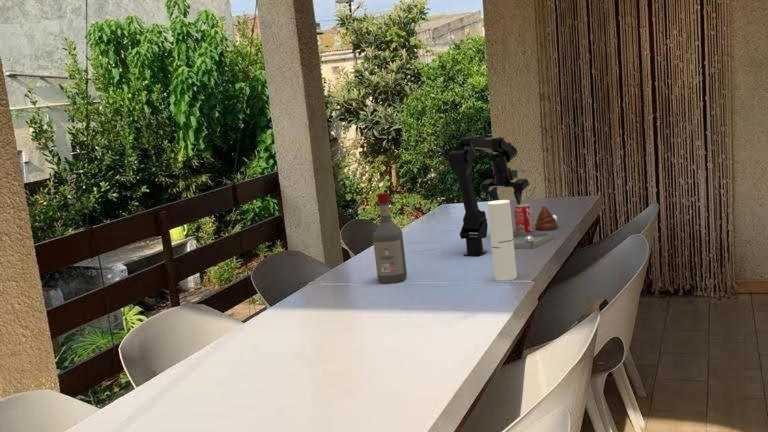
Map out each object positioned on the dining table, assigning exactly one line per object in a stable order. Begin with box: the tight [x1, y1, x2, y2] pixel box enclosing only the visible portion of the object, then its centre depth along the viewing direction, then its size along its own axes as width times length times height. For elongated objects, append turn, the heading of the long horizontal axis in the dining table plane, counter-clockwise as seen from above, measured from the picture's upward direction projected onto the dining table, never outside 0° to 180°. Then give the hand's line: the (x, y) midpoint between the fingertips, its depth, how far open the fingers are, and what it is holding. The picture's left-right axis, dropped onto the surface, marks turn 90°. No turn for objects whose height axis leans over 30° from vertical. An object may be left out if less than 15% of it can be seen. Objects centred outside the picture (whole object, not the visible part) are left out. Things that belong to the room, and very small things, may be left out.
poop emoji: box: [534, 205, 558, 232], centre depth 347 cm, size 10×8×9 cm
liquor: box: [372, 192, 408, 285], centre depth 289 cm, size 9×9×30 cm
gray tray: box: [513, 231, 555, 250], centre depth 325 cm, size 18×16×2 cm
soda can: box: [513, 203, 534, 233], centre depth 340 cm, size 7×7×12 cm
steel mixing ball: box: [524, 235, 534, 243], centre depth 318 cm, size 4×4×4 cm
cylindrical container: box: [487, 199, 518, 282], centre depth 274 cm, size 7×7×25 cm
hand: (508, 204), depth 335 cm, fingers open, 9 cm apart
